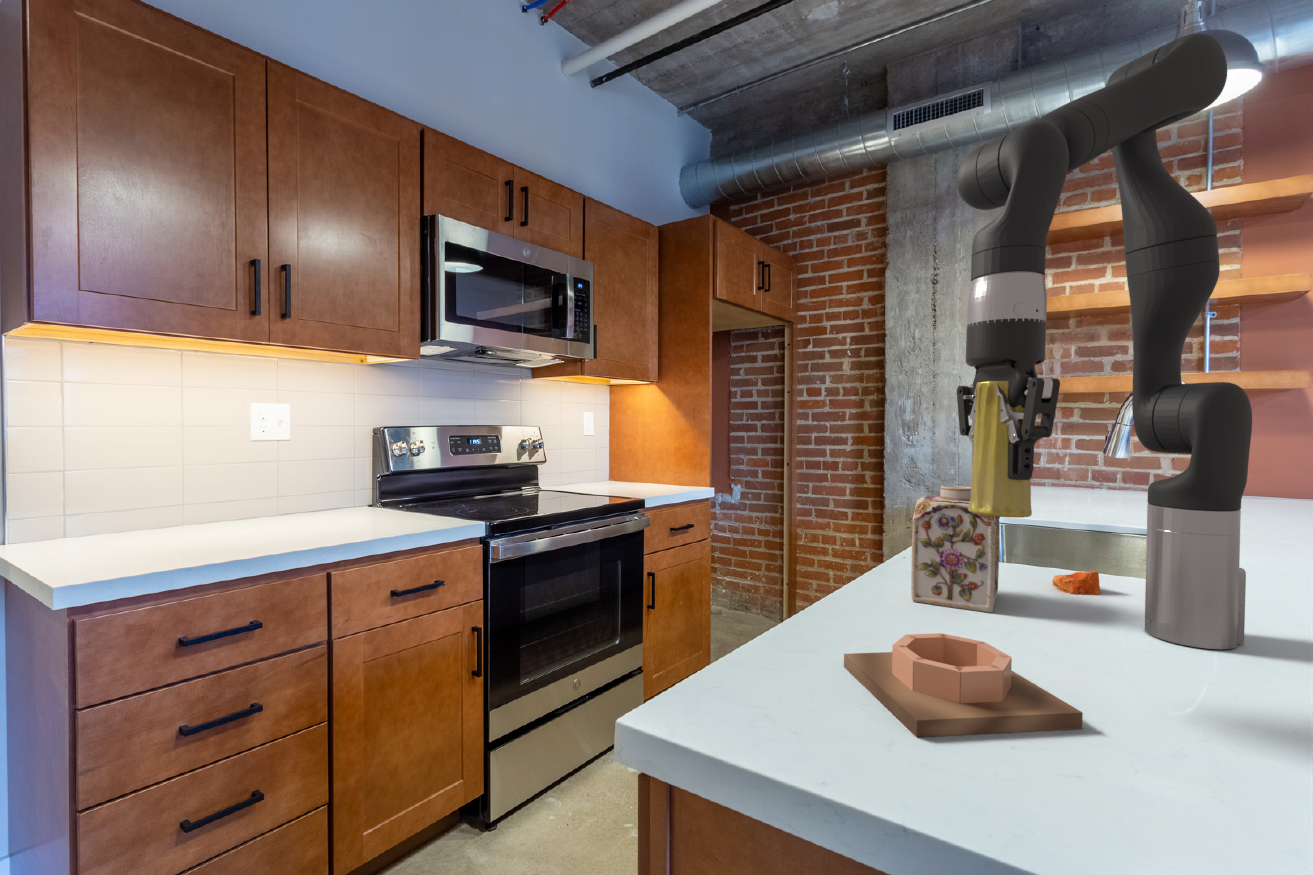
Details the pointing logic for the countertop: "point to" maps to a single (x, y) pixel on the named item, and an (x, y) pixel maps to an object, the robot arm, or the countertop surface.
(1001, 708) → the board
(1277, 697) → the countertop surface
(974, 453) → the vase
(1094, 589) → the rock
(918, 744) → the countertop surface
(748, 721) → the countertop surface
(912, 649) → the holder ring
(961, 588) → the decorative jar
